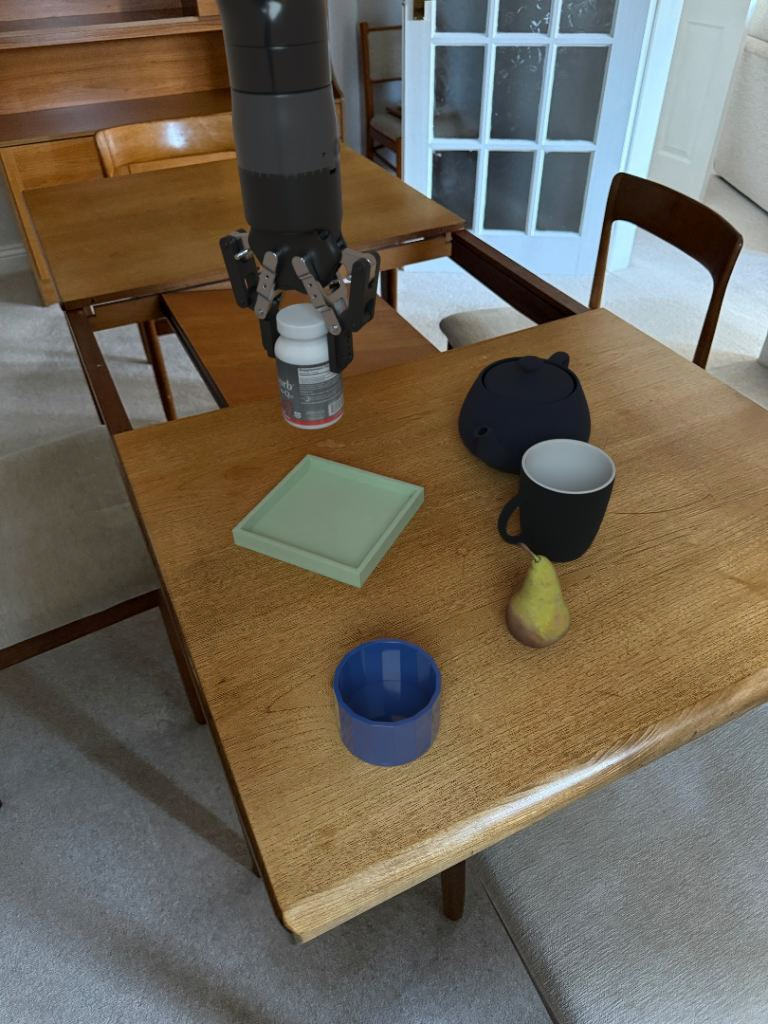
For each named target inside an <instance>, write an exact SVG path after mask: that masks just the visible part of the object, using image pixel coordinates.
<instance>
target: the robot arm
mask: <svg viewBox="0 0 768 1024" xmlns="http://www.w3.org/2000/svg"><path fill="white" fill-rule="evenodd" d="M214 1H215V5H216V7H217V10H218V15H219V18H220V23H221V29H222V34H223V35H222V37H223V42H224V51H225V58H226V66H227V72H228V81H229V87H230V97H231V126H232V133H233V134H232V135H233V144H234V149H235V156H236V162H237V172H238V177H239V184H240V193H241V199H242V206H243V213H244V219H245V221H246V223H247V225H248V226H249V227H250V228H249V232H248V231H246V229H244V228H238V229H235V230H233V231H232V232H230V233H229V234H226V235H225V236H223V237H221V238H219V242H218V245H219V248H220V251H221V255H222V258H223V262H224V266H225V268H226V272H227V276H228V280H229V283H230V286H231V290H232V292H233V296H234V299H235V303H236V304H237V306H238V307H239V308H241V309H246V308H248V309H250V311H253V313H254V315H255V316H256V318H258V323H259V330H260V336H261V344H262V346H263V349H264V350H265V351H266V354H267V357H268V358H269V359H270V358H271V359H275V343H276V341H277V339H278V338H279V336H280V335H281V334H280V333H279V332H278V330H277V320H276V316H277V313H278V312H279V311H280V309H281V307H282V305H283V302H284V298H285V295H286V293H287V291H296V292H298V293H300V294H302V295H307V296H308V298H309V299H310V302H311V303H312V304H313V306H314V308H315V309H316V310H317V311H320V312H321V314H322V316H323V319H324V321H325V323H326V325H327V327H328V329H329V331H330V332H329V333H328V334H327V343H328V356H329V368H330V372H332V373H336V374H340V373H341V372H342V373H343V371H344V370H345V369H346V368H347V367H348V366H349V365H350V364H351V363H353V360H354V357H355V355H354V339H353V337H354V335H353V333H359V331H360V330H362V329H363V327H364V326H366V325H367V324H368V323H370V322H371V321H372V320H373V319H374V317H375V312H376V311H375V310H376V302H377V294H378V288H379V287H378V285H379V277H380V269H381V262H382V258H381V254H380V253H379V252H378V251H376V250H370V251H368V252H367V253H363V252H361V251H358V250H355V249H352V248H351V247H349V245H348V243H347V241H346V239H345V237H344V234H343V232H342V222H343V217H344V216H343V215H344V205H343V189H342V188H343V187H342V171H341V170H342V169H341V154H340V152H341V143H340V135H339V121H338V112H337V107H336V103H335V97H334V96H335V95H334V90H333V83H332V79H333V77H332V61H331V47H330V27H329V14H328V7H327V0H214ZM255 258H256V259H255ZM256 260H257V261H258V262H259V264H260V265H261V267H262V269H261V273H260V274H259V270H258V267H257V261H256ZM342 266H344V268H345V270H346V275H345V279H346V280H347V281H348V282H350V287H349V293H348V289H347V286H346V283H345V281H344V279H343V277H342V274H341V272H340V269H341V267H342ZM327 287H328V290H327V292H325V291H324V289H326V288H327ZM348 294H349V296H348V297H347V295H348Z"/></svg>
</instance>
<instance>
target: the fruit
mask: <svg viewBox="0 0 768 1024" xmlns="http://www.w3.org/2000/svg"><path fill="white" fill-rule="evenodd" d="M516 546H517V547H520V548H521V549H523V550H524V551H526V552H527V553H528V554H529V555H530V556H531V557H532V560H531V562H530V565H529V567H528V569H527V572H526V574H525V578H524V580H523V583H522V585H521V587H520V588H519V589H518V591H516V592H515V593H514V594H513V595H512V596H511V597H510V599H509V600H508V602H507V605H506V608H505V625H506V628H507V630H508V632H509V634H510V635H511V636H512V637H513V638H514V639H516V641H517V642H519V643H520V644H523V645H525V646H526V647H530V648H533V649H539V650H540V649H545V648H548V647H551V646H553V645H555V644H557V643H558V642H559V641H561V640H562V639H563V638H565V636H566V635H567V634H568V632H569V630H570V628H571V625H572V617H571V616H572V615H571V612H570V608H569V605H568V603H567V601H566V600H565V599H564V596H563V591H562V586H561V583H560V579H559V577H558V576H559V575H558V572H557V569H556V568H555V566H554V565H553V562H551V561H550V560H548V559H547V558H546V557H544V556H541V555H538V556H536V555H535V554H533V553H532V552H531V551H530V550H529V548H528V547H527V546H526V544H523V543H520V542H518V543H517V545H516Z"/></svg>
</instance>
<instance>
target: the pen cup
mask: <svg viewBox="0 0 768 1024" xmlns="http://www.w3.org/2000/svg"><path fill="white" fill-rule="evenodd" d="M332 693H333V701H334V710H335V719H336V720H335V721H336V726H337V729H338V734H339V737H340V739H341V743H343V745H344V746H345V748H346V749H347V750H348V752H350V754H352V755H353V756H354V757H356V758H357V759H358V760H360V761H362V762H364V763H366V764H369V765H372V766H377V767H384V768H388V767H389V768H391V767H399V766H403V765H407V764H410V763H412V762H415V761H416V760H417V759H419V758H421V757H422V756H423V755H425V753H427V752H428V751H429V750H430V748H432V746H433V744H434V743H435V741H436V740H437V736H438V734H439V731H440V718H441V697H442V696H441V694H442V673H441V671H440V669H439V666H438V665H437V662H436V660H435V659H434V657H433V656H432V655H431V654H429V653H428V652H427V651H426V650H424V648H422V646H420V645H418V644H415V643H412V642H409V641H407V640H405V639H402V638H385V637H384V638H378V639H373V640H370V641H369V640H368V641H366V642H362V643H360V644H359V645H357V646H355V647H354V648H352V649H351V650H349V651H348V652H347V653H345V654H344V656H343V657H342V659H341V660H340V661H339V663H338V664H337V666H336V667H335V669H334V675H333V682H332Z"/></svg>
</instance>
